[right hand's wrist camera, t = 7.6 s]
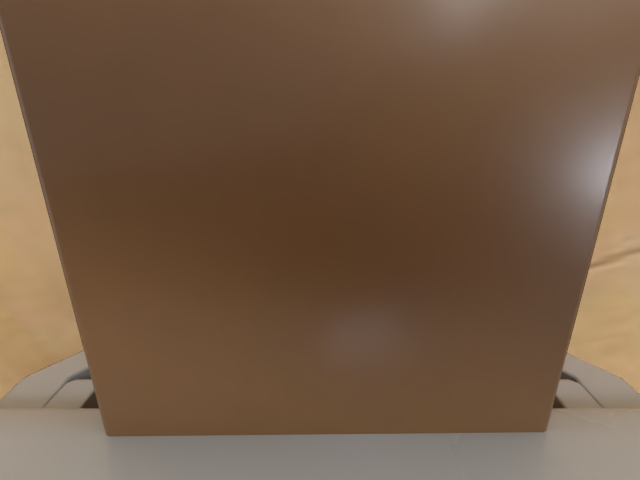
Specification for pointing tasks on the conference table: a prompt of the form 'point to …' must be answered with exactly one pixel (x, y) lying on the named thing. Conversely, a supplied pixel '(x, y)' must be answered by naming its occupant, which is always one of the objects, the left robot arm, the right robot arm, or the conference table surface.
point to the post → (324, 202)
